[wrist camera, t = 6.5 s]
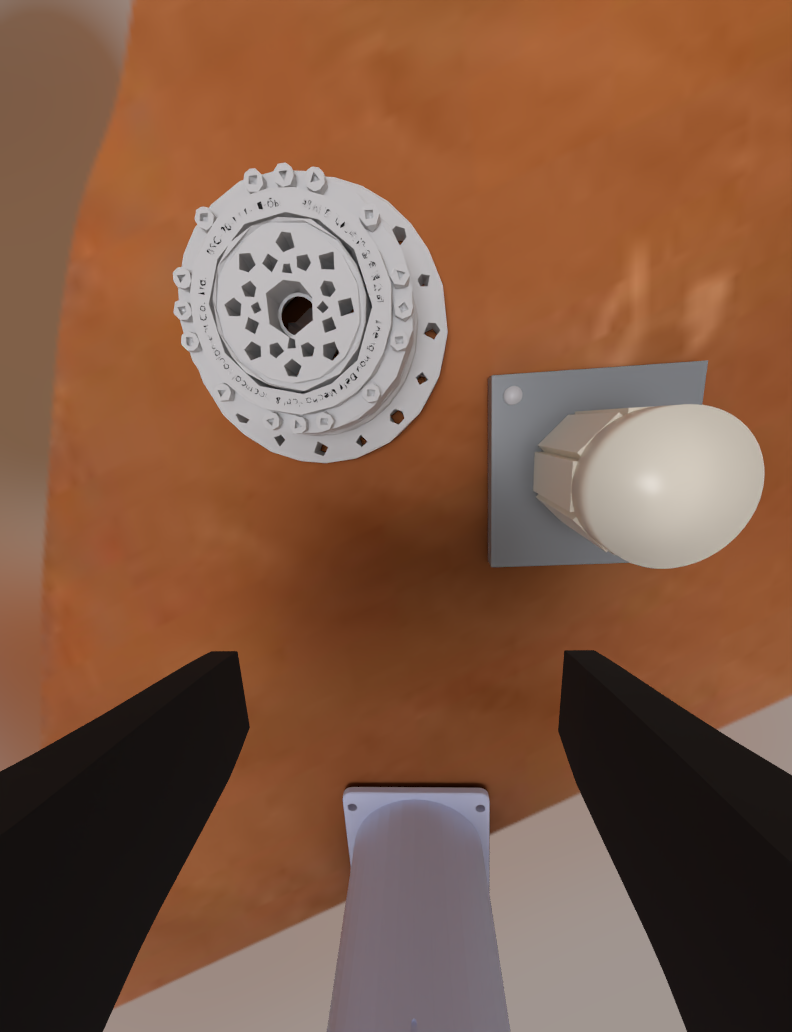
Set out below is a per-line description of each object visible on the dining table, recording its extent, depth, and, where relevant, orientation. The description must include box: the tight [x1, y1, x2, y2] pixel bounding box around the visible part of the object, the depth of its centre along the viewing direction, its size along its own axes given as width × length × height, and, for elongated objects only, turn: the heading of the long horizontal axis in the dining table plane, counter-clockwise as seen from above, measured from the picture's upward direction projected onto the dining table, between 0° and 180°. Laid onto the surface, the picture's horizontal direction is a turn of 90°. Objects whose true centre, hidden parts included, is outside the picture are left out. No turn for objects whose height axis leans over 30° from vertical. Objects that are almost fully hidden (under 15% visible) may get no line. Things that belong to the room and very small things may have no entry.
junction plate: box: [488, 361, 708, 567], centre depth 14 cm, size 8×8×4 cm
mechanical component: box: [173, 163, 448, 463], centre depth 13 cm, size 10×4×10 cm
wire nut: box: [533, 404, 764, 569], centre depth 13 cm, size 5×5×5 cm
